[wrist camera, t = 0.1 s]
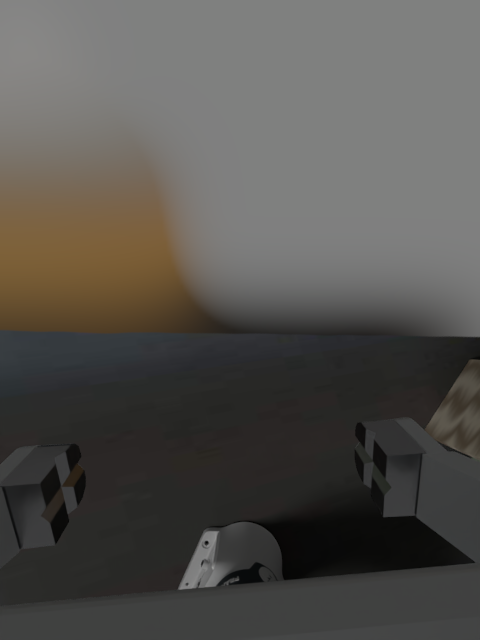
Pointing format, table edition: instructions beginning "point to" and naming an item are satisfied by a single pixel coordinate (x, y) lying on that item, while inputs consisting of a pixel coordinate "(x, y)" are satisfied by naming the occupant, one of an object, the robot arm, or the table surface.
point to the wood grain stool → (460, 414)
